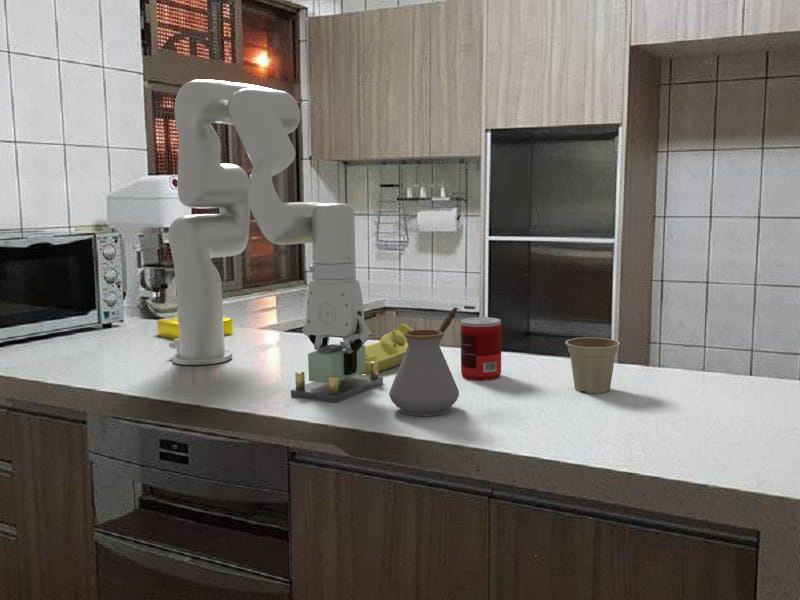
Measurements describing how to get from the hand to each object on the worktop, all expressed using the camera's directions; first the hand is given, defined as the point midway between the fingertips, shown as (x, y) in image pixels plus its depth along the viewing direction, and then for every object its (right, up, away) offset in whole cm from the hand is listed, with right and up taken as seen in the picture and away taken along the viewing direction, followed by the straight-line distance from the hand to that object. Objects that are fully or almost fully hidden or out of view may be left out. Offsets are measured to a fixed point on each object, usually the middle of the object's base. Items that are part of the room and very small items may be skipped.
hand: (337, 371), depth 144 cm
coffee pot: (+17, -5, -9) cm, 20 cm away
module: (0, -1, 0) cm, 1 cm away
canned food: (+27, -2, +9) cm, 29 cm away
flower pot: (+46, -3, -3) cm, 46 cm away
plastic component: (+7, -1, +21) cm, 22 cm away
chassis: (0, -3, 0) cm, 3 cm away
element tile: (-42, +3, +63) cm, 75 cm away
